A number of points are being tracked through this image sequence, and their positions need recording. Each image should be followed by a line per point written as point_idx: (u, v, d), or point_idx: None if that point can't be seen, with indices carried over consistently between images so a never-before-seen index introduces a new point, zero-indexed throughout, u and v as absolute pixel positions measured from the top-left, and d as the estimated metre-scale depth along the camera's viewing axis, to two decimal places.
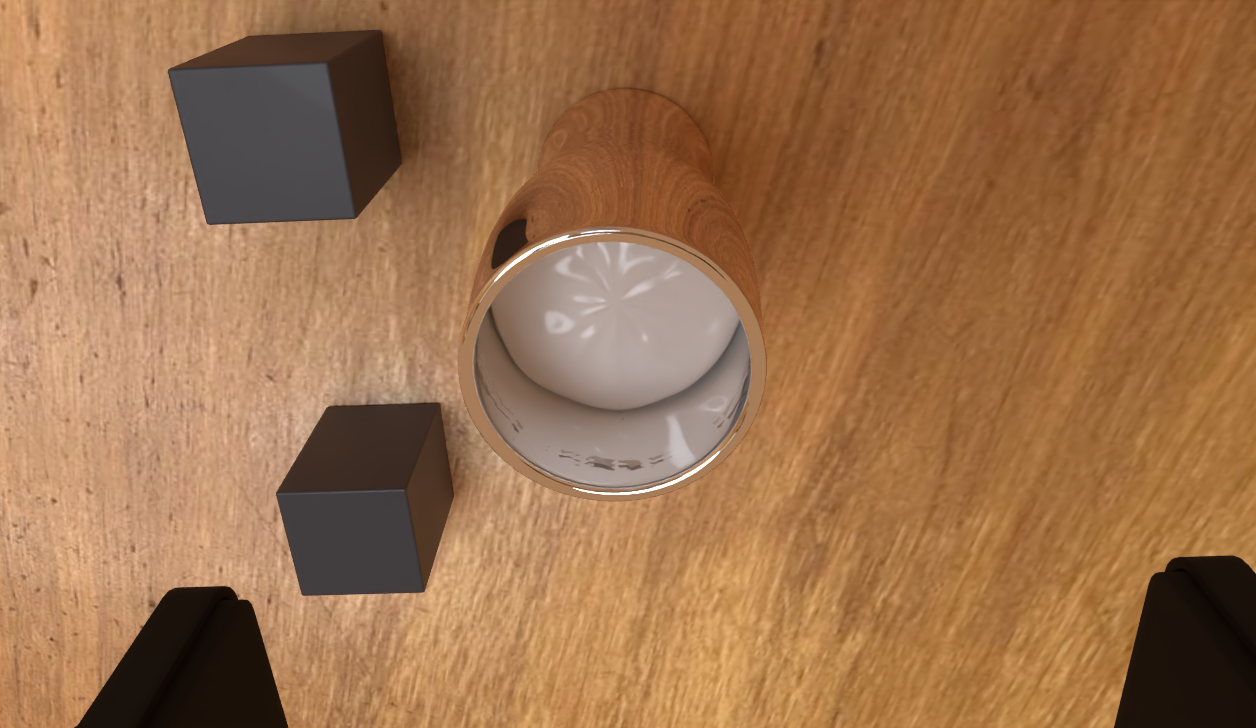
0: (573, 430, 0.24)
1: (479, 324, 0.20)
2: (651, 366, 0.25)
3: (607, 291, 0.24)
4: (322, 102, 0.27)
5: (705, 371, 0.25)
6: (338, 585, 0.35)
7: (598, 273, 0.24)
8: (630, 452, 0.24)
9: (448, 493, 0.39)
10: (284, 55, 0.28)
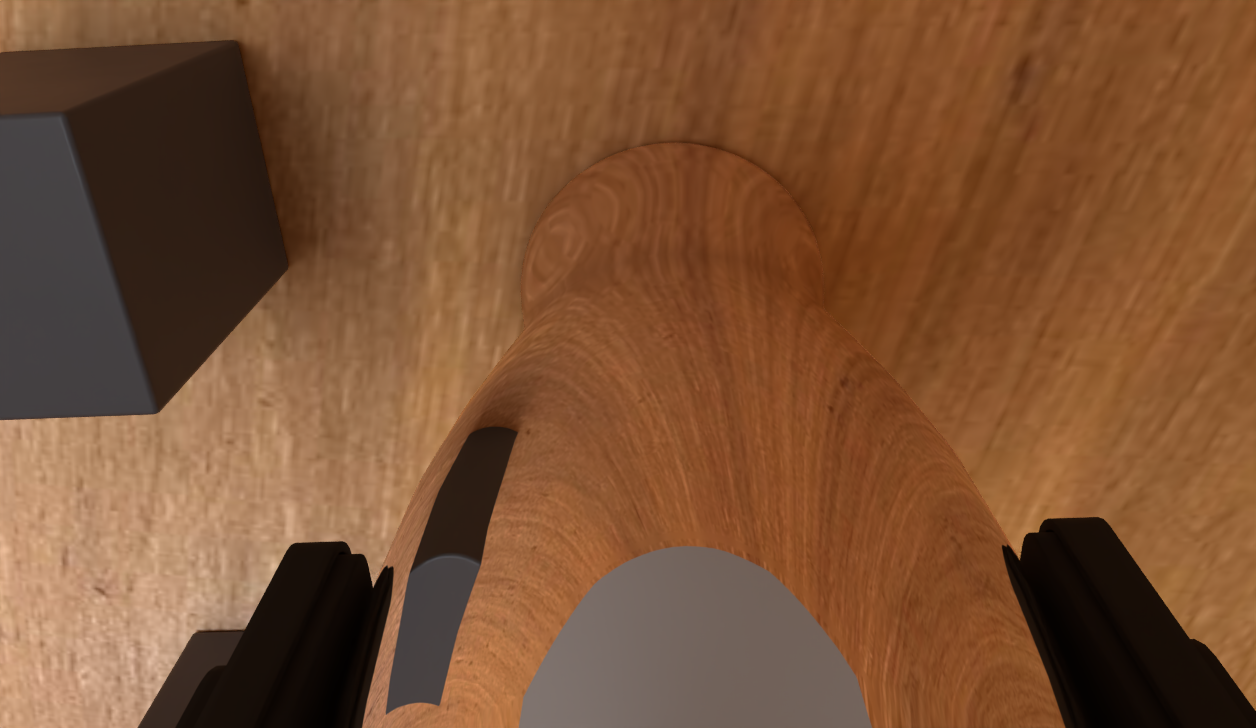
0: None
1: None
2: None
3: None
4: (62, 195, 0.13)
5: None
6: None
7: None
8: None
9: None
10: (1, 95, 0.14)
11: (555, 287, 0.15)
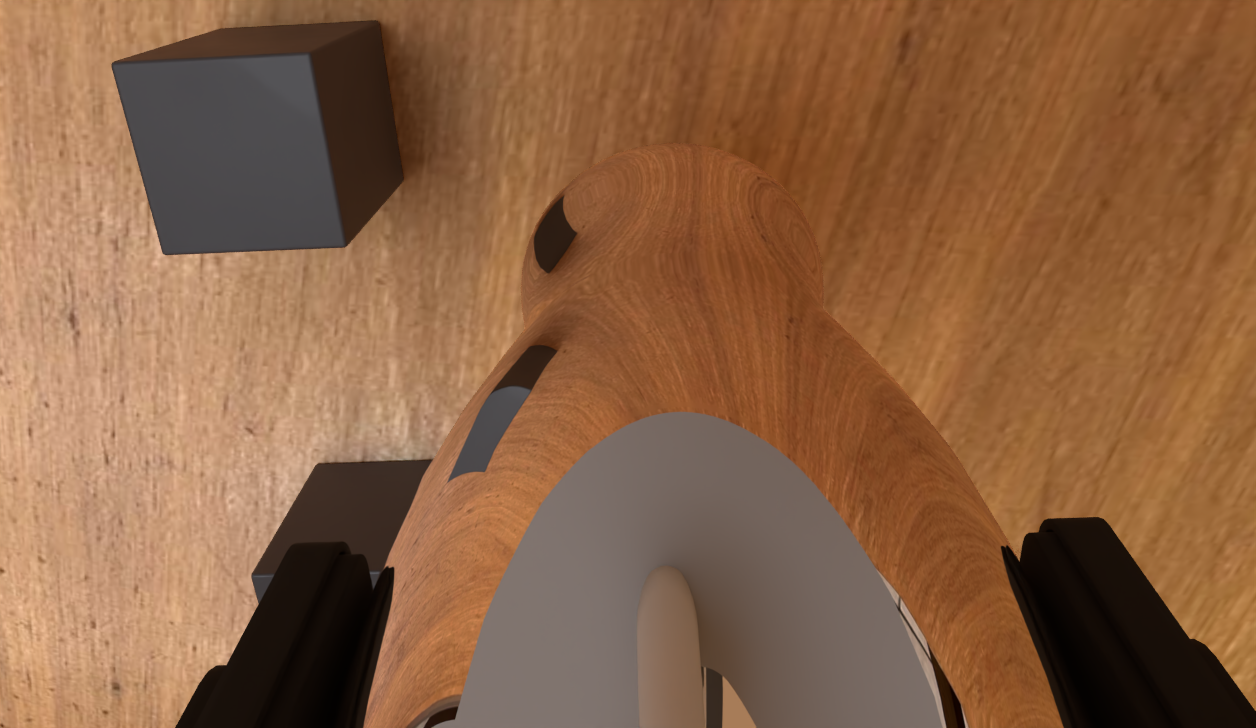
0: None
1: None
2: None
3: None
4: (303, 103, 0.22)
5: None
6: None
7: None
8: None
9: None
10: (258, 46, 0.22)
11: (555, 287, 0.15)
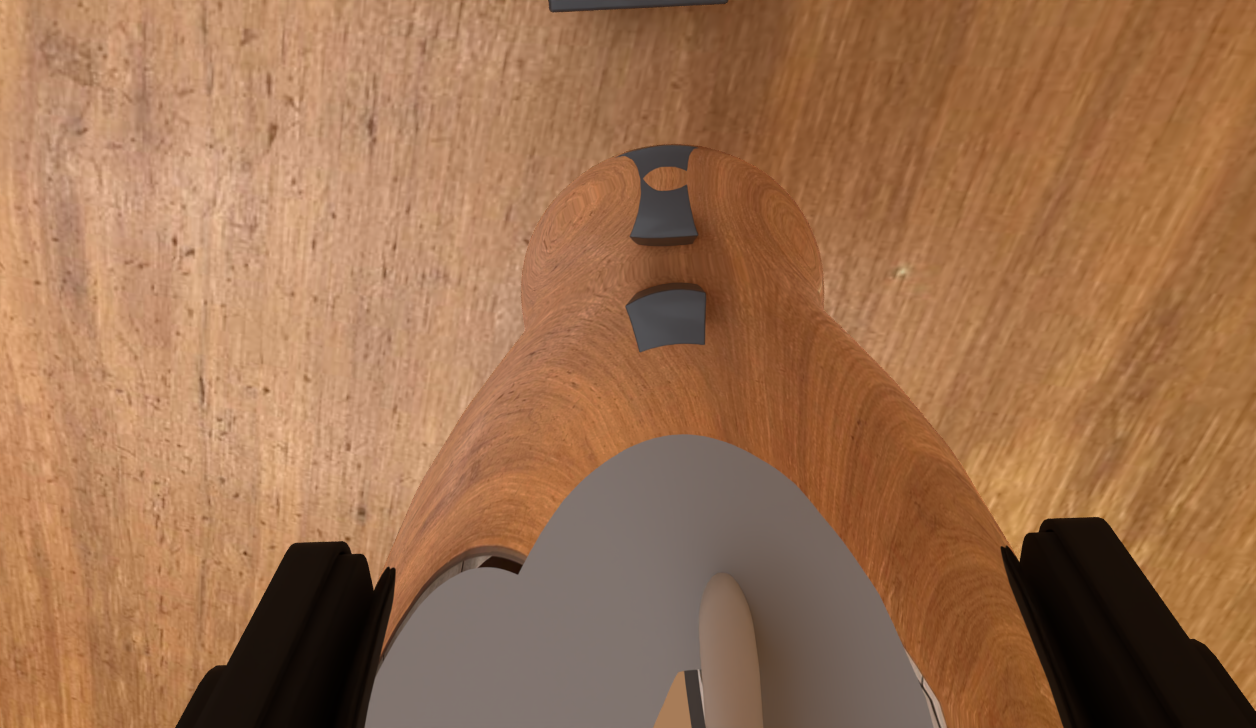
0: None
1: None
2: None
3: None
4: None
5: None
6: None
7: None
8: None
9: None
10: None
11: (555, 289, 0.15)
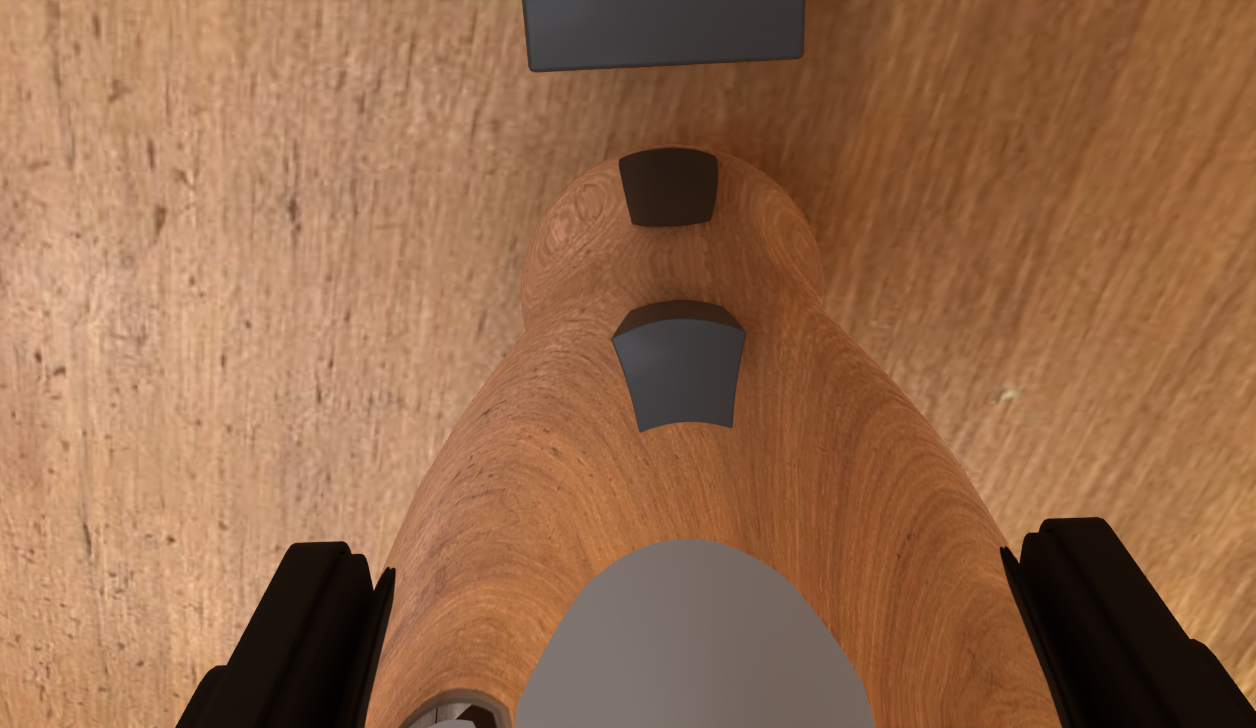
0: None
1: None
2: None
3: None
4: None
5: None
6: None
7: None
8: None
9: None
10: None
11: (555, 289, 0.15)
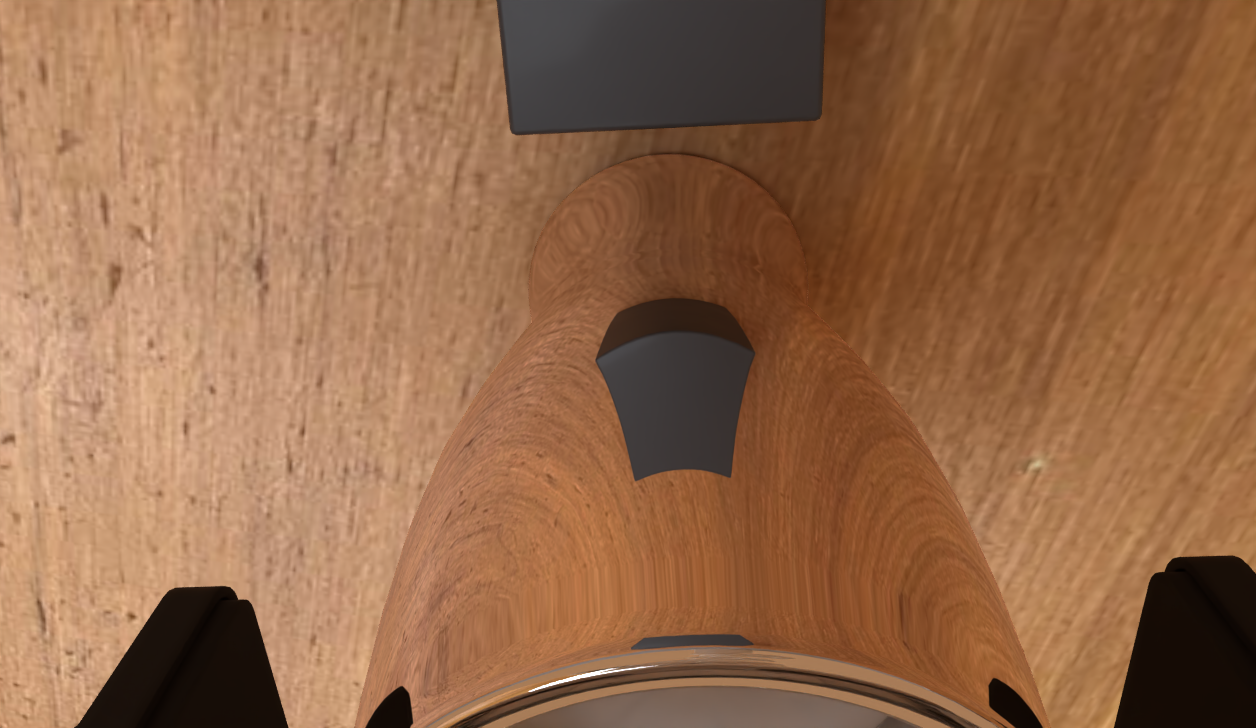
0: None
1: None
2: None
3: None
4: None
5: None
6: None
7: None
8: None
9: None
10: None
11: (562, 283, 0.17)
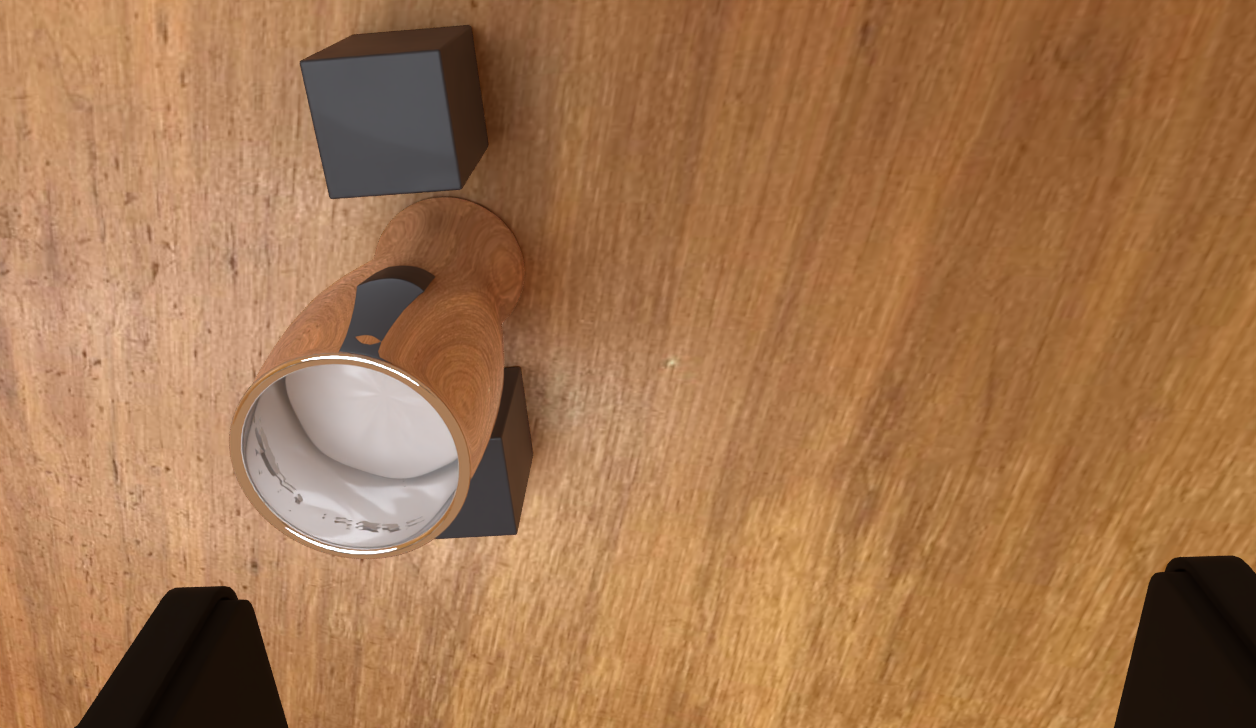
0: (356, 498, 0.30)
1: (242, 427, 0.26)
2: (421, 444, 0.31)
3: (376, 386, 0.30)
4: (434, 86, 0.31)
5: None
6: None
7: (367, 373, 0.29)
8: (395, 516, 0.29)
9: (529, 450, 0.43)
10: (397, 46, 0.31)
11: None
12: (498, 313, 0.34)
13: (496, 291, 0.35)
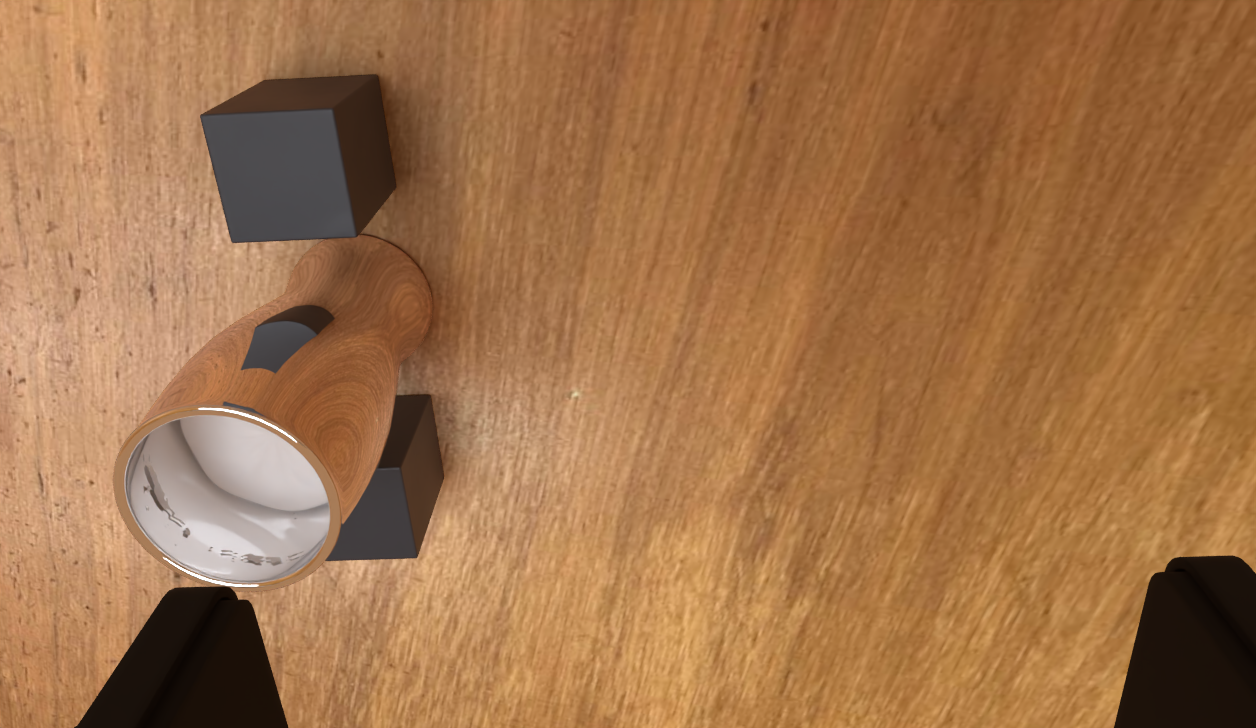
0: (245, 530, 0.32)
1: (125, 469, 0.28)
2: (309, 480, 0.32)
3: None
4: (328, 141, 0.32)
5: None
6: (342, 552, 0.40)
7: None
8: (279, 550, 0.31)
9: (439, 474, 0.44)
10: (296, 101, 0.33)
11: None
12: (393, 353, 0.35)
13: (395, 330, 0.37)
